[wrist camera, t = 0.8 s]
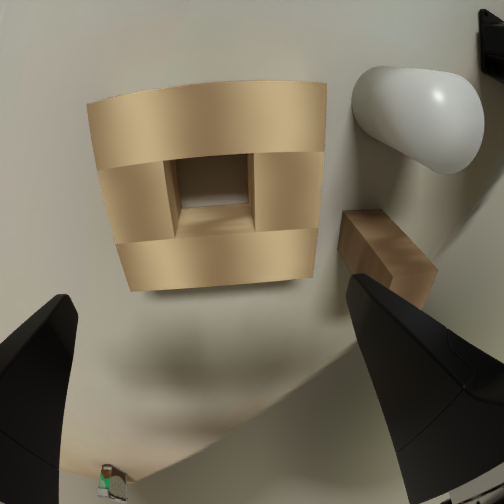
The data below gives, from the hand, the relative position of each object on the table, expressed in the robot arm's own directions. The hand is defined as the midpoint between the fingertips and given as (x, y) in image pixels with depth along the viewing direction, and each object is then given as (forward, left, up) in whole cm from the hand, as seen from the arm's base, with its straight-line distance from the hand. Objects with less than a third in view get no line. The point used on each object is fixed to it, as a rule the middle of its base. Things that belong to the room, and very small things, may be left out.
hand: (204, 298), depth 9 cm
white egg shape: (-12, -5, -12) cm, 18 cm away
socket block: (0, 0, -12) cm, 12 cm away
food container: (+38, +74, -12) cm, 84 cm away
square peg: (-11, +5, -12) cm, 17 cm away
